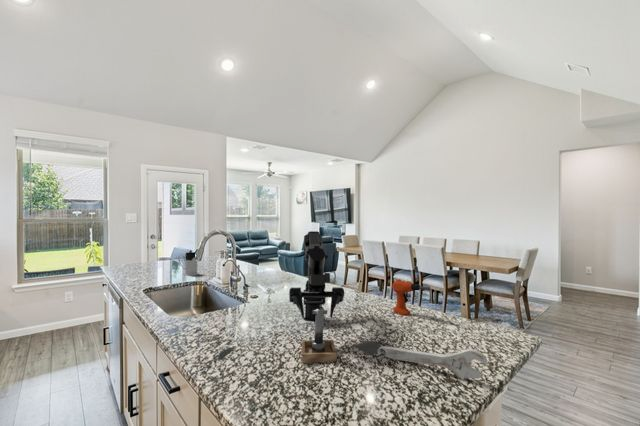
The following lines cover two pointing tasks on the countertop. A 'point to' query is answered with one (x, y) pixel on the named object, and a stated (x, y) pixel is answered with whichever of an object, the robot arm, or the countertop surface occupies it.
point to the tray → (311, 357)
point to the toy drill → (404, 295)
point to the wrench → (441, 360)
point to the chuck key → (319, 331)
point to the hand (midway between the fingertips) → (317, 318)
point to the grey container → (190, 264)
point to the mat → (369, 347)
